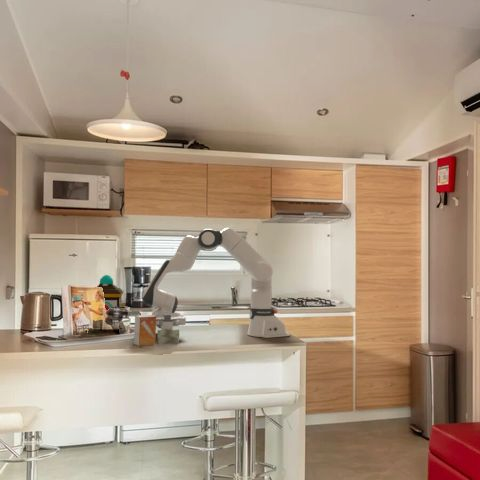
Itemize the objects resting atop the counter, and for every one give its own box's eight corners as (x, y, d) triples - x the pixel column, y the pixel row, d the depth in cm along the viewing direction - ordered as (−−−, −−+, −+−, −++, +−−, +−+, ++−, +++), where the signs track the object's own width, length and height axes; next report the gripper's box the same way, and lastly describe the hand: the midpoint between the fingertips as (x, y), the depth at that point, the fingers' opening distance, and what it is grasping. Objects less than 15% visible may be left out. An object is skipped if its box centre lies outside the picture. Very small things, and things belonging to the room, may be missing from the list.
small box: (138, 346, 200) (139, 317, 201) (133, 343, 205) (134, 315, 206) (155, 344, 204) (156, 316, 205) (150, 342, 210) (151, 314, 210)
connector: (170, 338, 217) (171, 314, 218) (172, 340, 213) (173, 315, 213) (160, 339, 216) (161, 314, 216) (162, 341, 211) (163, 315, 212)
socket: (174, 338, 220) (175, 326, 221) (178, 342, 211) (179, 329, 211) (154, 339, 217) (154, 327, 217) (157, 343, 208) (157, 330, 208)
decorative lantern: (88, 328, 246) (90, 273, 248) (125, 328, 250) (126, 274, 252) (82, 334, 227) (84, 275, 228) (122, 334, 231) (124, 275, 232)
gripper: (142, 313, 224) (145, 317, 210) (182, 312, 230) (188, 316, 217) (141, 326, 223) (145, 330, 210) (182, 325, 230) (187, 329, 217)
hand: (167, 323), depth 214 cm, fingers open, 8 cm apart
